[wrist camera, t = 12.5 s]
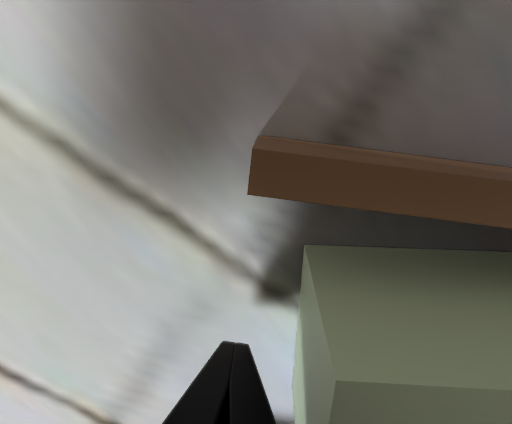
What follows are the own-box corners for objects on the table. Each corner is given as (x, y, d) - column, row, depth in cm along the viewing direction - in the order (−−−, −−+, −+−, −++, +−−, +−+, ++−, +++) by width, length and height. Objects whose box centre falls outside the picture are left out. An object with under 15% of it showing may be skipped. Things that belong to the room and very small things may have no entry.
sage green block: (456, 396, 10) (581, 594, 6) (292, 386, 11) (305, 569, 6) (510, 252, 8) (756, 404, 4) (304, 244, 9) (335, 380, 4)
